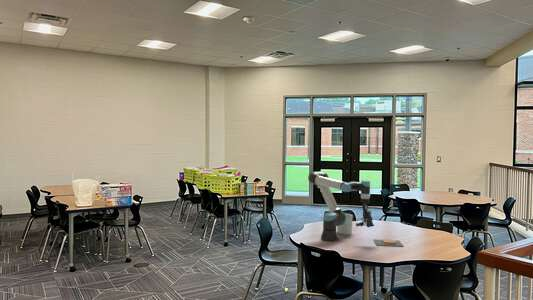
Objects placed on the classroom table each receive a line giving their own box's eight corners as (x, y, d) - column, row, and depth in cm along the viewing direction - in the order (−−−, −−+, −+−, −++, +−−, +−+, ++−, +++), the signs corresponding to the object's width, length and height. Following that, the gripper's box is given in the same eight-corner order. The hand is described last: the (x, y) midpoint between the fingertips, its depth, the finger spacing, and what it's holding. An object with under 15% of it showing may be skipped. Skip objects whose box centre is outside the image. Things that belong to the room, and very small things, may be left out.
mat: (376, 245, 329) (376, 244, 329) (373, 240, 347) (373, 239, 347) (403, 246, 326) (403, 245, 326) (399, 241, 344) (399, 240, 344)
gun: (352, 210, 341) (369, 206, 339) (357, 228, 341) (374, 225, 339) (352, 210, 339) (369, 207, 336) (357, 229, 338) (374, 225, 336)
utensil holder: (350, 231, 381) (350, 213, 381) (354, 234, 366) (354, 216, 366) (335, 231, 381) (335, 213, 381) (338, 234, 366) (339, 216, 366)
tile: (384, 241, 332) (396, 242, 330) (382, 239, 342) (394, 239, 340) (384, 243, 332) (396, 244, 330) (382, 240, 342) (394, 241, 340)
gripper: (370, 199, 330) (370, 227, 330) (368, 197, 346) (368, 223, 346) (361, 199, 331) (361, 226, 331) (359, 197, 347) (359, 223, 347)
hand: (364, 225), depth 339 cm, fingers closed on gun, 3 cm apart
